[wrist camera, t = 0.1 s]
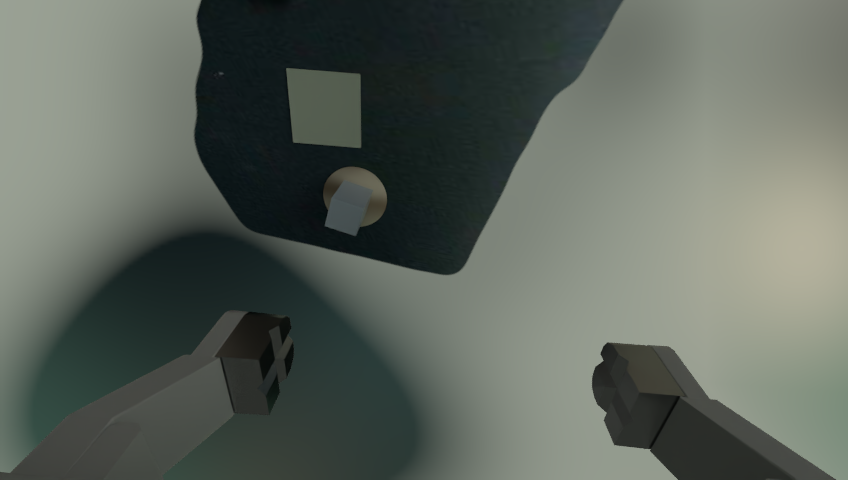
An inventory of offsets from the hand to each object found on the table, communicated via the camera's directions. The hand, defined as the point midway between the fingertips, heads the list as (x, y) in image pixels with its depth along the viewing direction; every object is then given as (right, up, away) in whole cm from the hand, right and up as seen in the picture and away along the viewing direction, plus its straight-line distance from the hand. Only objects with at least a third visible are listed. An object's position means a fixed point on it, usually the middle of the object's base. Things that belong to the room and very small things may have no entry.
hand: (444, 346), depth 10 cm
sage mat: (-14, +21, +44) cm, 51 cm away
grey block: (-11, +9, +50) cm, 52 cm away
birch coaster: (-11, +9, +50) cm, 52 cm away
